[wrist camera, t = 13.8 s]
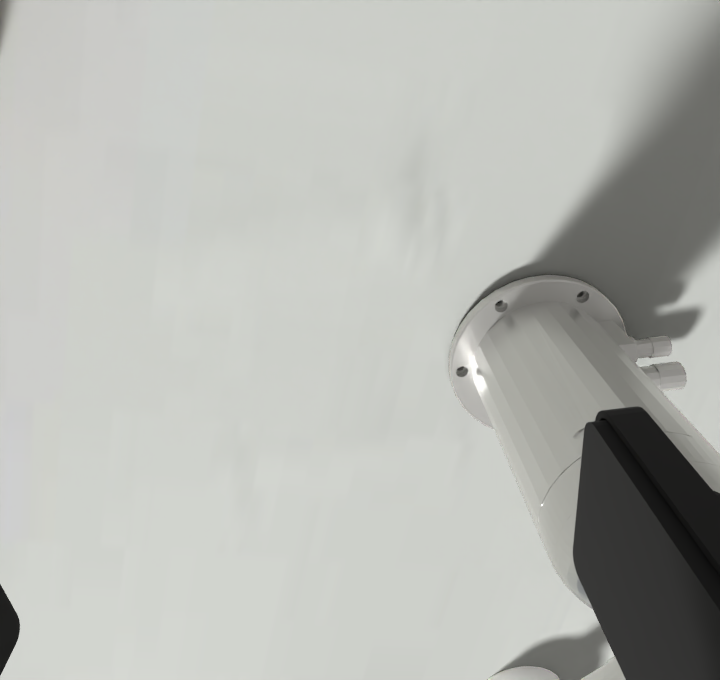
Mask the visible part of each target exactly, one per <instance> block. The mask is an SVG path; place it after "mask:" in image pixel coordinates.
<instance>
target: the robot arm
mask: <svg viewBox="0 0 720 680" xmlns="http://www.w3.org/2000/svg"><path fill="white" fill-rule="evenodd" d="M579 292H580V293H579ZM578 293H579V294H578ZM577 294H578V295H577ZM498 301H501V302H500V303H499V304H496V303H497V302H498ZM671 352H672V344H671V340H670V339H669V337H667V336H658V337H649V338H646V339H640V340H635V339H634V338H633V337H629V336H628V335H627V333H626V329H625V326H624V322H623V319H622V317H621V316H620V314H619V312H618V310H617V309H616V307H615V306H614V305H613V304H612V303H611V302H610V301H609V299H608V298H607V297H606V296H604V295H603V294H602V293H601V292H600V291H599V290H597V289H596V288H595V287H593V286H591V285H589V284H587V283H585V282H583V281H581V280H578V279H574V278H571V277H567V276H558V275H541V276H533V277H528V278H524V279H521V280H517V281H514V282H511V283H509V284H507V285H505V286H503V287H501V288H499V289H497V290H495V291H494V292H492V293H491V294H489V295H488V296H487V297H485V298H484V299H482V300H481V301H480V302H479V303H478V304H477V305H476V306H475V307H474V308H473V309H472V310H471V311H470V312H469V313H468V314H467V316H466V317H465V319H464V320H463V321H462V323H461V324H460V326H459V328H458V330H457V332H456V334H455V336H454V338H453V341H452V344H451V349H450V353H449V375H450V380H451V384H452V387H453V389H454V392H455V395H456V397H457V398H458V400H459V402H460V403H461V405H462V407H463V408H464V409H465V410H466V411H467V412H468V413H469V414H470V415H471V416H472V417H473V418H474V419H476V420H477V421H479V422H480V423H482V424H483V425H485V426H488V427H490V428H492V429H494V430H495V433H496V435H497V437H498V440H499V442H500V444H501V447H502V449H503V451H504V454H505V456H506V458H507V461H508V463H509V465H510V468H511V470H512V472H513V475H514V477H515V479H516V482H517V484H518V487H519V489H520V491H521V494H522V496H523V498H524V501H525V503H526V505H527V508H528V510H529V512H530V515H531V517H532V519H533V522H534V524H535V526H536V529H537V531H538V533H539V536H540V538H541V541H542V543H543V545H544V548H545V550H546V552H547V555H548V557H549V559H550V561H551V563H552V565H553V567H554V569H555V571H556V572H557V574H558V576H559V577H560V578H561V580H562V581H563V582H564V584H565V585H566V586H567V588H568V589H569V590H570V591H571V592H572V593H573V594H574V595H575V596H576V597H577V598H579V599H580V600H581V601H582V602H583V603H584V604H586V605H587V606H589V607H590V608H592V609H593V610H594V612H595V614H596V617H597V619H598V621H599V623H600V625H601V627H602V629H603V632H604V634H605V636H606V638H607V640H608V642H609V644H610V647H611V649H612V651H613V653H614V655H615V656H614V657H613V658H611V659H609V660H608V662H607V663H606V664H605V665H603V666H602V667H600V668H598V669H597V670H595V671H593V672H592V673H590V674H589V675H587V676H585V677H584V678H582V679H580V680H720V454H719V453H718V452H717V451H716V450H715V449H714V448H713V446H712V445H711V444H710V443H709V442H708V441H707V440H706V439H705V438H704V437H703V436H702V435H701V434H700V432H699V431H698V430H697V429H696V428H695V427H694V426H693V425H692V424H691V423H690V422H689V421H688V419H687V418H686V417H685V416H684V415H683V414H682V413H681V412H680V411H679V410H678V409H677V408H676V407H675V405H674V404H673V403H672V402H671V401H670V400H669V399H668V398H667V397H666V396H665V395H664V394H663V392H662V391H669V390H677V389H682V388H684V387H685V384H686V373H685V370H684V367H683V366H682V364H681V363H679V362H669V363H660V364H652V365H650V366H646V367H638V365H637V364H636V363H635V362H636V361H637V359H638V358H645V357H649V358H654V357H662V356H669V355H670V354H671ZM461 366H462V367H461ZM459 367H460V368H459ZM19 630H20V623H19V618H18V615H17V613H16V612H15V610H14V608H13V606H12V604H11V603H10V601H9V599H8V597H7V595H6V594H5V592H4V590H3V588H2V586H1V585H0V675H1V673H2V671H3V669H4V667H5V665H6V663H7V661H8V659H9V657H10V655H11V653H12V651H13V649H14V647H15V645H16V642H17V640H18V636H19Z"/></svg>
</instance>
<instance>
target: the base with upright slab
mask: <svg viewBox="0 0 720 680" xmlns="http://www.w3.org/2000/svg"><path fill="white" fill-rule="evenodd" d="M487 680H560V679H559V678H558V676H557V675H556V674H555V673H553V672H552V671H550V670H548V669H545V668H542V667H535V666H520V667H515V668H510V669H507V670H504V671H501V672H499V673H497V674H495V675H493V676H492V677H490V678H489V679H487Z"/></svg>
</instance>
